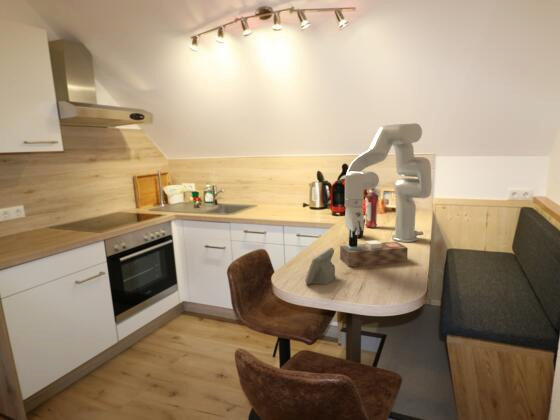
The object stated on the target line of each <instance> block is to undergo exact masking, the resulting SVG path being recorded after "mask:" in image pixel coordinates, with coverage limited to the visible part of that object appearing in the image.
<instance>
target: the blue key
mask: <svg viewBox="0 0 560 420" xmlns="http://www.w3.org/2000/svg"><path fill="white" fill-rule="evenodd" d="M345 245H346V249H348V250H349V251H352V250H361V247H360V246H359V245H358V243H357V246H354V247H350V246H349V244H345Z"/></svg>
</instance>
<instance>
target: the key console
mask: <svg viewBox="0 0 560 420" xmlns="http://www.w3.org/2000/svg"><path fill="white" fill-rule="evenodd" d="M381 243H382V248H378V249H369V248H367V247H366V246H365V245H366V243H359V244H358V243H357V244H358V245H359V246H360V247H361V250H352V251H349V250H348V249H346V245H347V244H345V245H340V247H339V251H340V253H339V259H340V260H341V262H343V263H344V264H345V265H346V266H347V267H357V266H369V265H372V266H373V265H382V264H394V263H395V264H396V263H406V262H408V249H409V247H407V246H405V245H403V244H401V243H400V242H399V241H387V242H381ZM391 243H396V244H398V245H400V246H401V247H392V248H390V247H388V246H386V245H385V244H391Z"/></svg>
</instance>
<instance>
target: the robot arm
mask: <svg viewBox="0 0 560 420" xmlns="http://www.w3.org/2000/svg"><path fill="white" fill-rule="evenodd" d="M422 135H423V129H422V127H421V125H420V124H419V123H417V122H415V123H413V122H412V123H396V124H395V123H394V124H386V125H382V126H380V127H379V128H378V130H377V132H376V134H375V136H374V137H373V139H372V142H371V143H370V146H369V147H368V149H367V150H366V151H364V152H363V153H361V154H360V155H359V156H357V157H356V158H355V159H354V160H353V161H352V162H351V163H350V165H349V167H348V169H347V171H346V174H345V175H344V176H345V177H344V207H345V212H344V213H345V214H344V226H345V228H346V229H347V230H348V245H349V246H350V247H354V246H357V244H358V241H359V240H358V239H359V238H358V235H360V231H359V230H361V231H363V230H364V231H365V225H364V218H365V217H364V208H363V207H364V190H370V189H374V190H375V188H376V187H378V185H379V184H380V183H379V182H380V178H379V175H378V174H377V172H374V171H365V169H366V168H368V167H371V166H374V165H377V164H380V163H381V162H383V161H385V160H386V158H387V157H388V155H389V152H390V151H391V149H392V147H393V149H394V151H395V153H394V154H395V165H396V167H395V168H396V173H397V175H399V176H401V177H402V178H399V179H397V180H396V182H395V183H394V192H395V226H394V227H395V228H394V234H393V235H392V236H391V239H392V240H393V241H395V242H399V243H400V242H401V243H413V242H417V241H418V239H419V238H418V236H423V235H424V231H419V230H415V229H416V209H417V207H416V202H415V200H414V199H413V198H415V199H428V198H429V197H430V196H431V195H432V190H433V189H432V164H431V161H430V160H429V158H426V157H423V156H422V157H421V156H415V153H414V151H415V150H414V145H413V144H414V143H417V142H419V141H420V139H421V138H422ZM410 177H411V178H410Z"/></svg>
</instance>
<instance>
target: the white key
mask: <svg viewBox="0 0 560 420" xmlns="http://www.w3.org/2000/svg"><path fill="white" fill-rule="evenodd" d="M382 243H383V242H380V241H379V240H375V239H374V240H366V241H365V244H366V245H365V246H366V247H367V248H369V249H378V248H382Z"/></svg>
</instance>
